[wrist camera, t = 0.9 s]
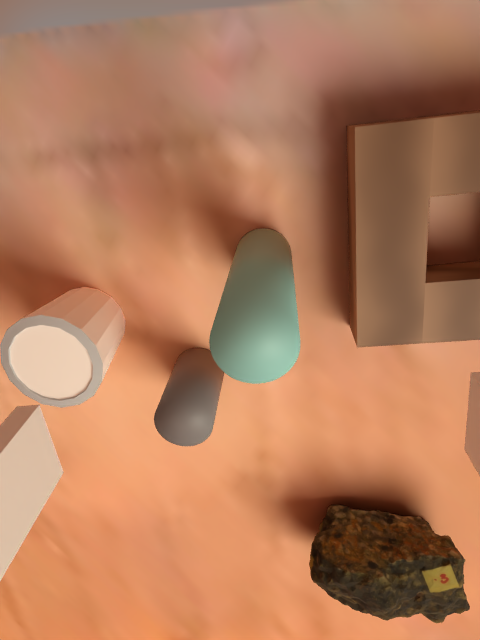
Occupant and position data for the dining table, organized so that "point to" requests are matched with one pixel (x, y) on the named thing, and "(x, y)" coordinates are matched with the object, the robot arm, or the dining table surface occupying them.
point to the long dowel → (258, 311)
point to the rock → (387, 565)
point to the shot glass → (64, 347)
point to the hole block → (409, 230)
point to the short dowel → (190, 399)
